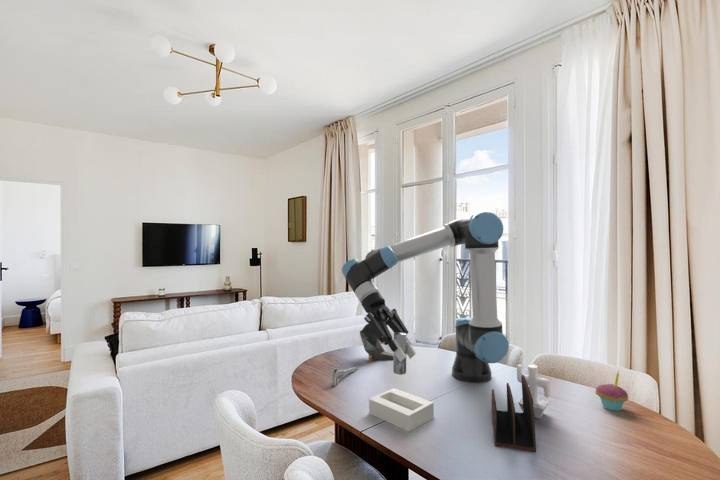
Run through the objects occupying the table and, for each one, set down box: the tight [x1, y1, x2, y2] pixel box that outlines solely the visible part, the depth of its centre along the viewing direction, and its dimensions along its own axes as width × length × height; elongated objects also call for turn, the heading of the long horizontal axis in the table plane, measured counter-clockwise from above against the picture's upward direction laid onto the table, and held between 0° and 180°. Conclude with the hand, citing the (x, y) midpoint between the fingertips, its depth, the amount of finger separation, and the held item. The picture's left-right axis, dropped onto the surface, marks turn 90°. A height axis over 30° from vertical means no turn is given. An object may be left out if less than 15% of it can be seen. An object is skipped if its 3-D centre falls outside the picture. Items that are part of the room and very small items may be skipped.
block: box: [368, 387, 435, 432], centre depth 111 cm, size 16×12×4 cm
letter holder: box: [490, 375, 537, 453], centre depth 102 cm, size 10×20×14 cm, turn 162°
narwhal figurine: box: [359, 323, 394, 362], centre depth 167 cm, size 14×15×18 cm
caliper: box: [331, 366, 358, 387], centre depth 144 cm, size 21×1×6 cm, turn 156°
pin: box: [392, 332, 408, 376], centre depth 112 cm, size 4×4×12 cm
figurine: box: [516, 363, 551, 420], centre depth 111 cm, size 7×9×15 cm
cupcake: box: [594, 370, 629, 412], centre depth 115 cm, size 9×8×12 cm
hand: (408, 357), depth 110 cm, fingers closed on pin, 4 cm apart
